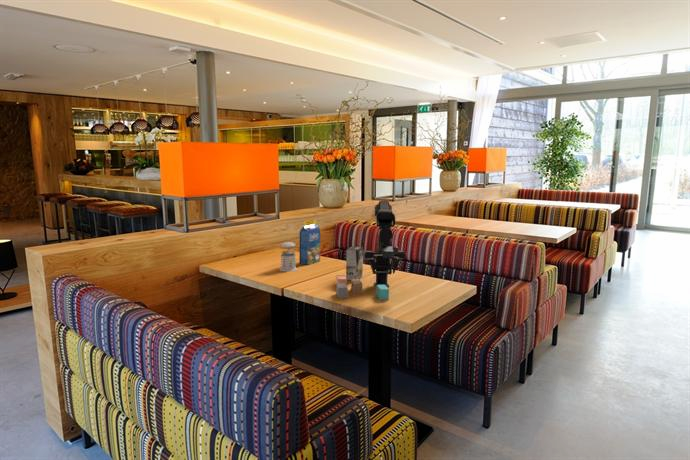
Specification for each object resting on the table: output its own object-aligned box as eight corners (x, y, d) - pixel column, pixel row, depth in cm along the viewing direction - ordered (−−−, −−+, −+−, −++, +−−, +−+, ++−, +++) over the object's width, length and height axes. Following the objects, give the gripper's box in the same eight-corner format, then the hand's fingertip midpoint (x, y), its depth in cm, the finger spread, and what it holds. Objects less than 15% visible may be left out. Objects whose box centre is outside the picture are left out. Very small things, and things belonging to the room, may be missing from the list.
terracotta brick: (336, 285, 223) (336, 275, 222) (344, 284, 223) (344, 275, 222) (338, 289, 216) (338, 279, 215) (346, 289, 217) (346, 278, 216)
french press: (293, 266, 257) (293, 222, 253) (300, 271, 247) (300, 226, 242) (277, 267, 253) (276, 223, 248) (283, 273, 242) (283, 227, 238)
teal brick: (376, 295, 208) (376, 284, 207) (384, 295, 208) (385, 284, 208) (379, 300, 201) (380, 289, 200) (388, 299, 202) (389, 289, 201)
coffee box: (357, 281, 229) (358, 250, 227) (345, 279, 231) (346, 249, 229) (362, 276, 238) (363, 246, 235) (351, 275, 240) (351, 245, 237)
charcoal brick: (336, 294, 209) (336, 283, 208) (344, 293, 209) (345, 283, 209) (338, 298, 202) (338, 288, 201) (347, 298, 203) (347, 287, 202)
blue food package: (299, 263, 263) (299, 221, 259) (312, 259, 273) (312, 218, 269) (307, 265, 260) (307, 222, 255) (320, 261, 270) (320, 219, 265)
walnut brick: (351, 289, 216) (351, 279, 215) (359, 289, 217) (359, 279, 216) (353, 294, 209) (353, 283, 208) (362, 293, 210) (362, 283, 209)
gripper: (368, 241, 191) (367, 277, 193) (410, 241, 194) (409, 276, 196) (362, 238, 202) (361, 272, 204) (402, 238, 205) (401, 272, 207)
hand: (383, 273), depth 202 cm, fingers open, 9 cm apart
